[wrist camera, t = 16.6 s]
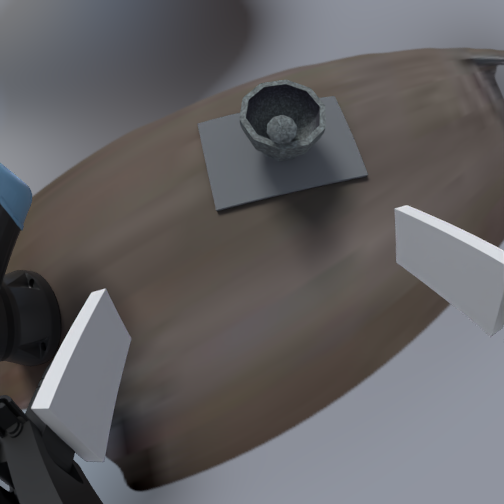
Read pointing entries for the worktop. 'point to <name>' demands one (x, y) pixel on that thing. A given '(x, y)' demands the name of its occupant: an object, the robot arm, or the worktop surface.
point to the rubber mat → (272, 171)
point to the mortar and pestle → (282, 119)
